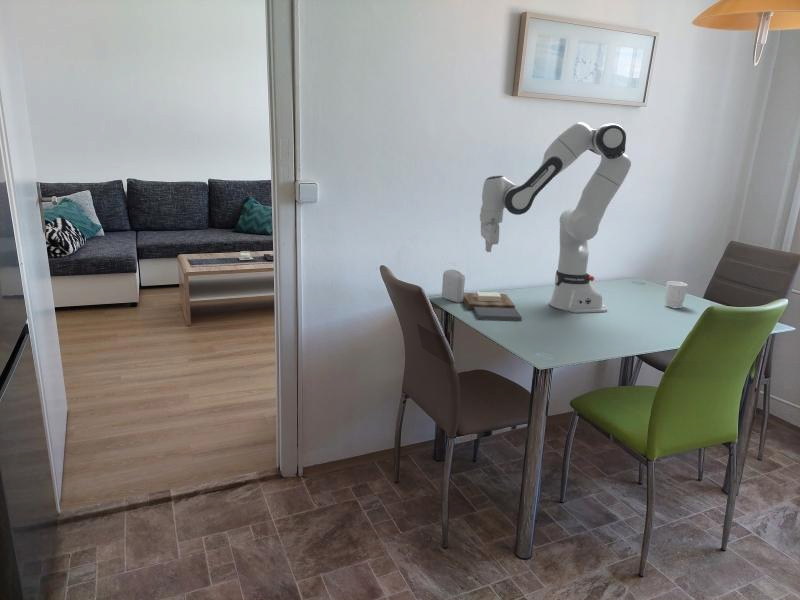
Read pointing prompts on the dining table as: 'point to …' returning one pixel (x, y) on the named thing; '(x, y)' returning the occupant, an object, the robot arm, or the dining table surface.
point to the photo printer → (453, 285)
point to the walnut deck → (487, 302)
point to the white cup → (675, 293)
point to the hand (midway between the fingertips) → (488, 251)
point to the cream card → (488, 296)
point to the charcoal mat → (497, 313)
